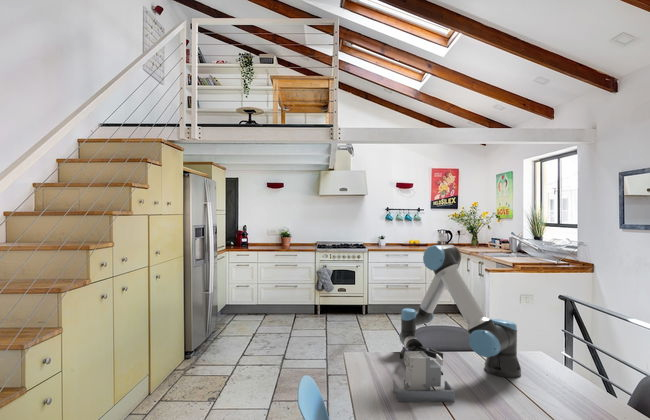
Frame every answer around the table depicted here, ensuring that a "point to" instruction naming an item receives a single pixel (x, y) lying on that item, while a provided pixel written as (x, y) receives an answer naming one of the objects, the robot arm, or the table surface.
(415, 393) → the grey u-shaped bracket
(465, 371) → the table surface
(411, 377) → the circuit breaker
